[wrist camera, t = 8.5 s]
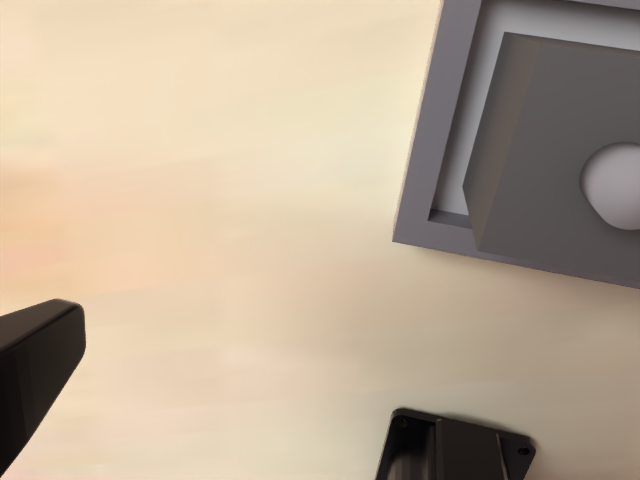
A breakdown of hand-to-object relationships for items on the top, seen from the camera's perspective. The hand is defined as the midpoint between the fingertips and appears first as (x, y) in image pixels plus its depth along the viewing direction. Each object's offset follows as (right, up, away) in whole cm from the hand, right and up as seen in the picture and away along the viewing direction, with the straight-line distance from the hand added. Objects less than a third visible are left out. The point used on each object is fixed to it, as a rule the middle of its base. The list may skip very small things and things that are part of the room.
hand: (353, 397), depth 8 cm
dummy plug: (+7, +6, +9) cm, 13 cm away
